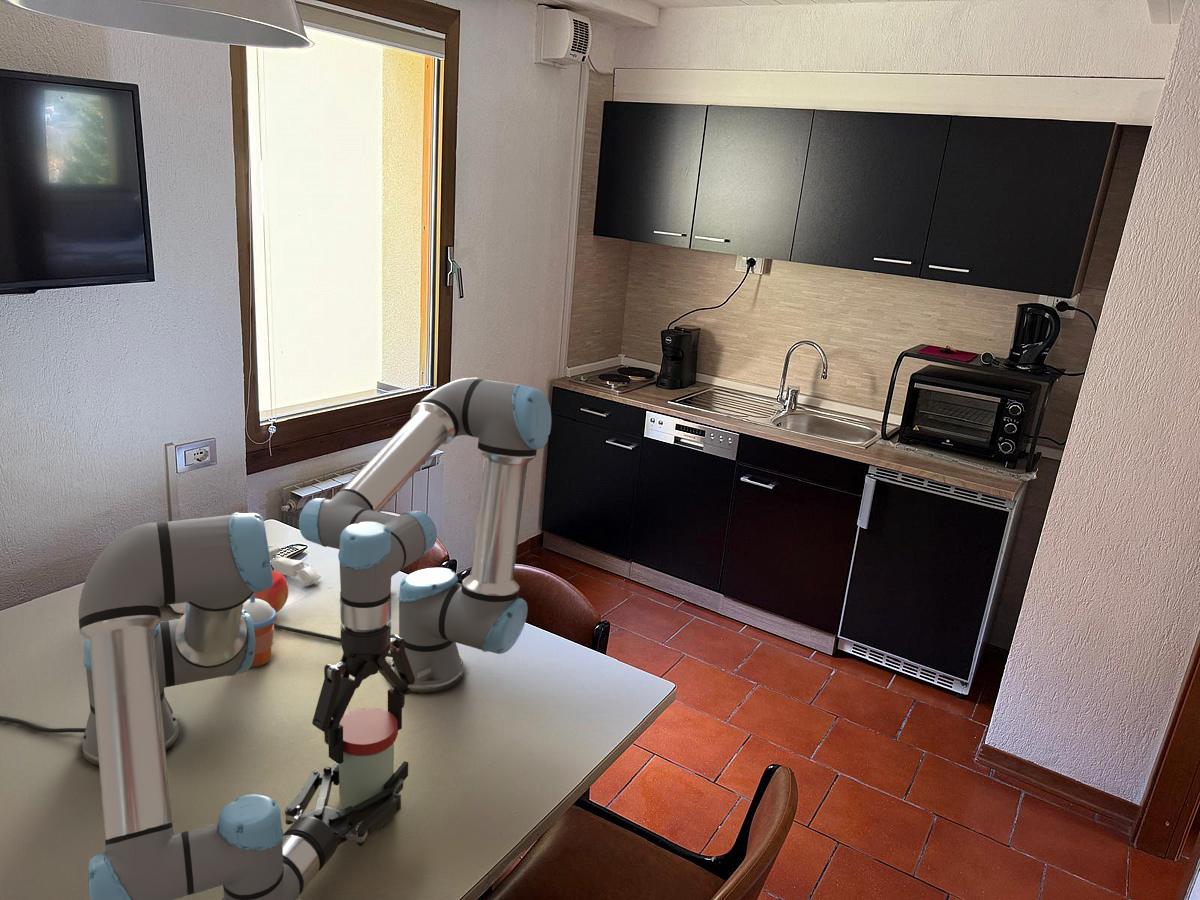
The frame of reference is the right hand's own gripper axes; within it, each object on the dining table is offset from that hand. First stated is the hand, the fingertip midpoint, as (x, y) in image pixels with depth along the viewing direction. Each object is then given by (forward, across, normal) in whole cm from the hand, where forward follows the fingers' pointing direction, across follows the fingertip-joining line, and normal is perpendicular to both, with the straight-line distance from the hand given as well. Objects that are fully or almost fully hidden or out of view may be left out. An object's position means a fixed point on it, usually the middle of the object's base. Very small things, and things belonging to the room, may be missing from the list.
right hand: (366, 742), depth 138 cm
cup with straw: (+13, -14, -54) cm, 57 cm away
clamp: (+13, -41, -83) cm, 94 cm away
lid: (-3, 0, 0) cm, 3 cm away
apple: (+13, -26, -69) cm, 75 cm away
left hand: (+7, -4, -2) cm, 8 cm away
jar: (+13, 0, 0) cm, 13 cm away
